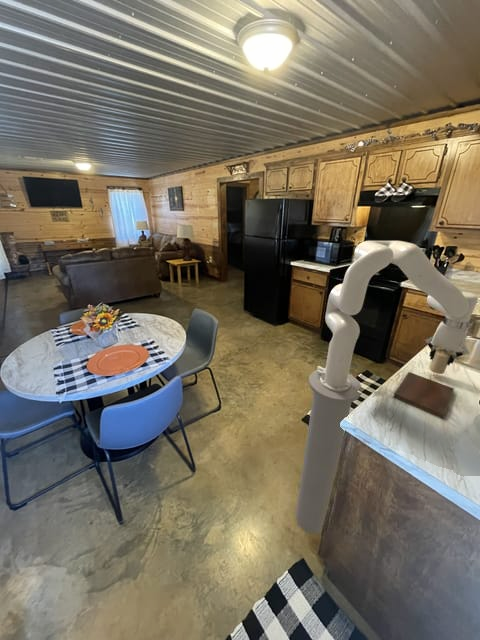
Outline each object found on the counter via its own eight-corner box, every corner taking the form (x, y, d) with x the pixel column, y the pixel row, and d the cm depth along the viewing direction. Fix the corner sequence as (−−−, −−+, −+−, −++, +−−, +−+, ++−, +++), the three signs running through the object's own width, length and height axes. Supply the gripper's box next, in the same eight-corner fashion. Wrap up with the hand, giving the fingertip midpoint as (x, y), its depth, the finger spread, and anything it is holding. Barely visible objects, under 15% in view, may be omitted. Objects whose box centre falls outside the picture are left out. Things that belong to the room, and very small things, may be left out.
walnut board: (393, 397, 103) (394, 393, 102) (407, 375, 116) (408, 371, 115) (442, 418, 92) (444, 414, 92) (452, 391, 105) (453, 388, 105)
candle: (442, 375, 110) (450, 355, 106) (427, 370, 114) (434, 350, 110) (445, 370, 114) (453, 350, 110) (430, 365, 117) (438, 345, 113)
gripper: (483, 326, 102) (466, 365, 109) (431, 314, 112) (419, 350, 120) (482, 332, 97) (464, 373, 104) (428, 319, 107) (414, 356, 115)
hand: (440, 360), depth 112 cm, fingers closed on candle, 5 cm apart
